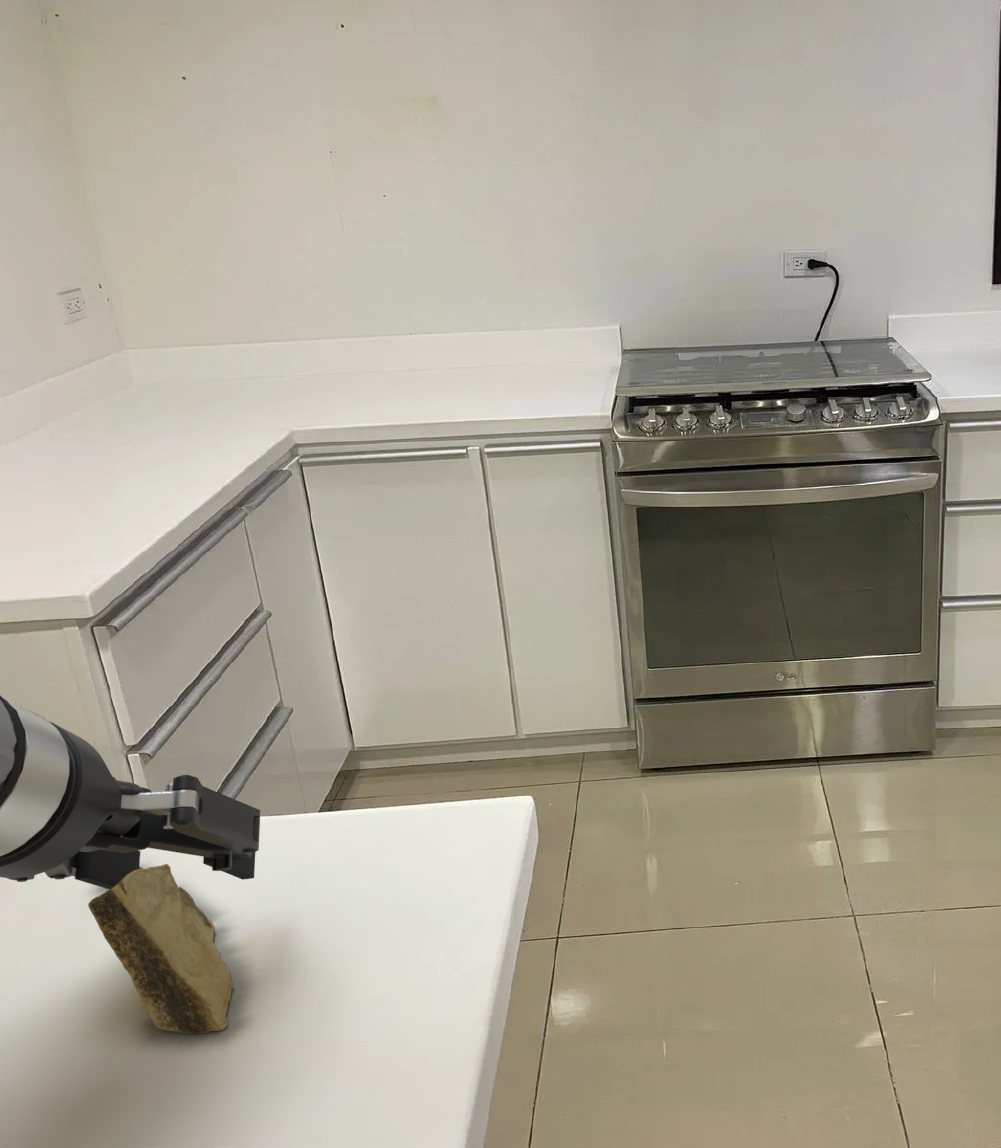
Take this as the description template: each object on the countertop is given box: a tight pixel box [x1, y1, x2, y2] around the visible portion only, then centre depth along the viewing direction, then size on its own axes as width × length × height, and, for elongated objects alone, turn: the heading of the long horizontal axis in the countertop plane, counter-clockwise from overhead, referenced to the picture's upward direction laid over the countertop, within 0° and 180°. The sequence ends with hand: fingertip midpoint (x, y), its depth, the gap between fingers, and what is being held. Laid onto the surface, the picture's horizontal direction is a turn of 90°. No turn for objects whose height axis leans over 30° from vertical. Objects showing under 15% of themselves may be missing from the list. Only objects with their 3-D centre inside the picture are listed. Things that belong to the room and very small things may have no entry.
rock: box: [87, 863, 234, 1035], centre depth 72 cm, size 11×9×10 cm
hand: (191, 865), depth 75 cm, fingers open, 7 cm apart
